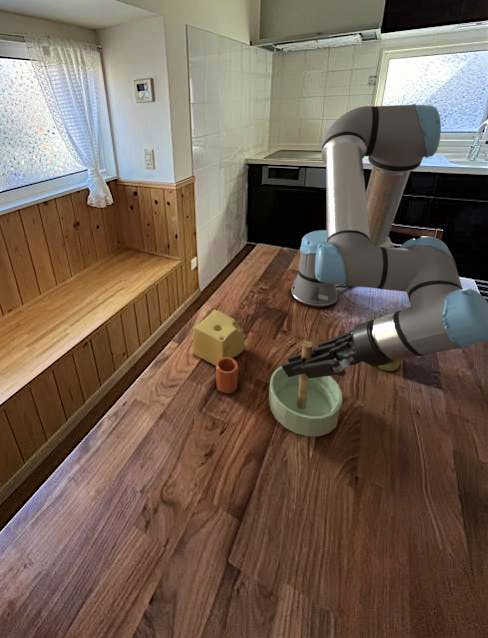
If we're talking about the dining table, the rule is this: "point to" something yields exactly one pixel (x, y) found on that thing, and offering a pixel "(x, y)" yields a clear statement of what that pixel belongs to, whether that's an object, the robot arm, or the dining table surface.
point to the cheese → (217, 337)
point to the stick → (304, 376)
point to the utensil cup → (227, 375)
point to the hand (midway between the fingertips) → (288, 367)
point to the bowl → (319, 407)
